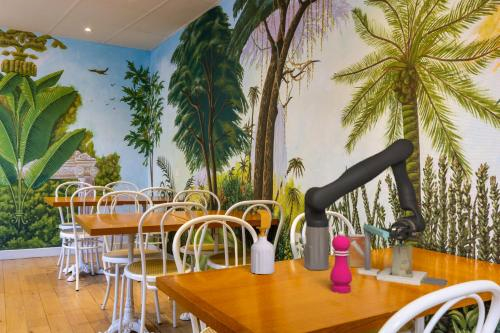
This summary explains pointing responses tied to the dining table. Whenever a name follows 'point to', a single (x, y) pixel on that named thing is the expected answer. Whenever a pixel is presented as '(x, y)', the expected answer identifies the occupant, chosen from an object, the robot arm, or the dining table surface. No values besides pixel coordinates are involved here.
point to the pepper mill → (341, 265)
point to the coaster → (435, 281)
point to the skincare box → (402, 260)
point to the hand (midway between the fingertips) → (392, 235)
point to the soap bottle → (262, 248)
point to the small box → (356, 250)
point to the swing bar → (376, 231)
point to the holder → (387, 273)
